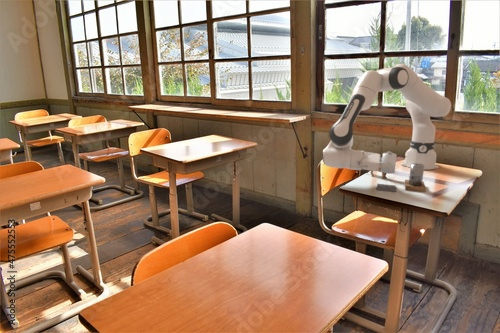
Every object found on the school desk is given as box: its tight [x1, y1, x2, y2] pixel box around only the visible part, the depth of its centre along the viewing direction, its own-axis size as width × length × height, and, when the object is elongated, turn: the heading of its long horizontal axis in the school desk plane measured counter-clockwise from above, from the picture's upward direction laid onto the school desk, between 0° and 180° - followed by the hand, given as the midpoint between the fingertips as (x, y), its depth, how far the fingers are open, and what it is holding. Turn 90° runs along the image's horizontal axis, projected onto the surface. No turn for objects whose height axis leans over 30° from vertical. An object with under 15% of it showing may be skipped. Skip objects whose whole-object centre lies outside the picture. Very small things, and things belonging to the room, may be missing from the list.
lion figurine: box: [365, 167, 388, 180], centre depth 188 cm, size 15×5×9 cm, turn 45°
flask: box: [408, 164, 425, 186], centre depth 169 cm, size 5×5×9 cm
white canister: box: [380, 151, 398, 175], centre depth 168 cm, size 6×6×9 cm
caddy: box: [404, 179, 427, 193], centre depth 172 cm, size 10×8×4 cm
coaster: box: [376, 183, 397, 193], centre depth 171 cm, size 8×8×1 cm
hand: (390, 163), depth 168 cm, fingers closed on white canister, 6 cm apart
